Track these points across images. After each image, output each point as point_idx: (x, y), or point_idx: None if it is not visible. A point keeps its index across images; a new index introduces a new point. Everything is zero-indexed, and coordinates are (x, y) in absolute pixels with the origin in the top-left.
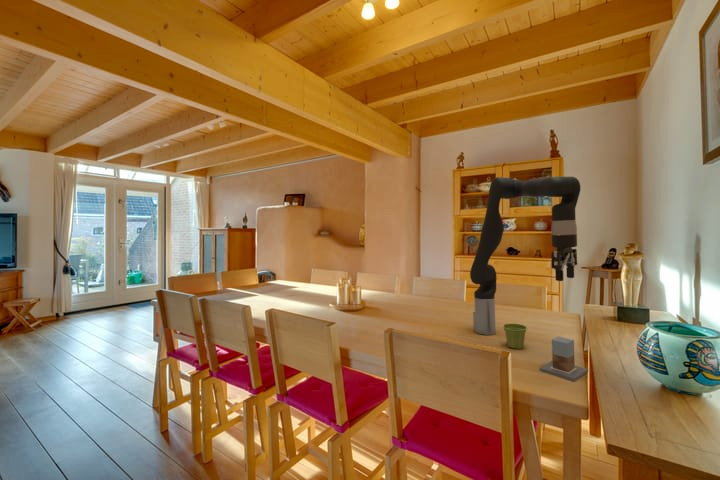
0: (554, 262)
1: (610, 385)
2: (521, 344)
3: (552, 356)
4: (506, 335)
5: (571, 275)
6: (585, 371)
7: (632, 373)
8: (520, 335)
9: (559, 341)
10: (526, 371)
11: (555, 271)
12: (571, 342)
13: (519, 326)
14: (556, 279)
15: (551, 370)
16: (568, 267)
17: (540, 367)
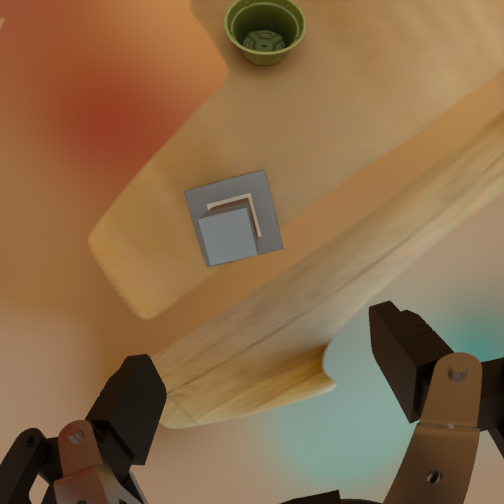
0: (29, 487)
1: (260, 305)
2: (263, 63)
3: (207, 211)
4: (237, 25)
5: (378, 354)
6: (268, 252)
7: (356, 290)
8: (257, 55)
9: (205, 242)
10: (154, 182)
11: (96, 408)
12: (240, 257)
13: (299, 17)
14: (130, 362)
15: (197, 215)
16: (423, 381)
17: (187, 192)
